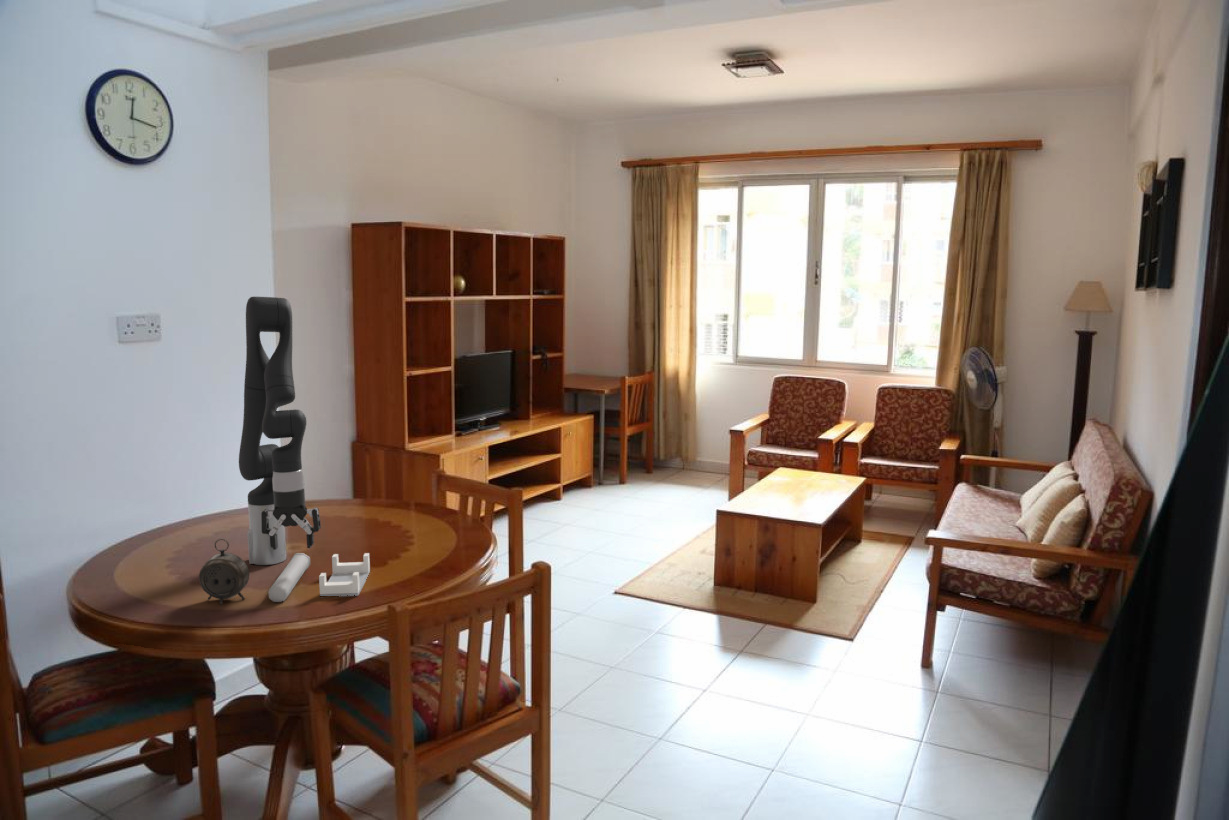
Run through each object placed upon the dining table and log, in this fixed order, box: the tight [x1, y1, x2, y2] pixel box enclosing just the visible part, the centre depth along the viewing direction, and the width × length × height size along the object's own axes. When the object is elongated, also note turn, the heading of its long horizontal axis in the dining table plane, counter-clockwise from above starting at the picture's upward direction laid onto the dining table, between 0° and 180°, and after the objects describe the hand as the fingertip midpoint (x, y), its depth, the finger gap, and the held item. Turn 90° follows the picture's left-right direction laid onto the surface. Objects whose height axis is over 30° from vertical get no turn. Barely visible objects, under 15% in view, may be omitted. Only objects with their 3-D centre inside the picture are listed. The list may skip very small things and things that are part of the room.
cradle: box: [318, 552, 371, 597], centre depth 228 cm, size 9×17×6 cm, turn 6°
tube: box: [268, 552, 311, 603], centre depth 227 cm, size 5×5×25 cm
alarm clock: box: [198, 538, 250, 605], centre depth 215 cm, size 11×5×16 cm, turn 92°
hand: (292, 548), depth 225 cm, fingers open, 8 cm apart
